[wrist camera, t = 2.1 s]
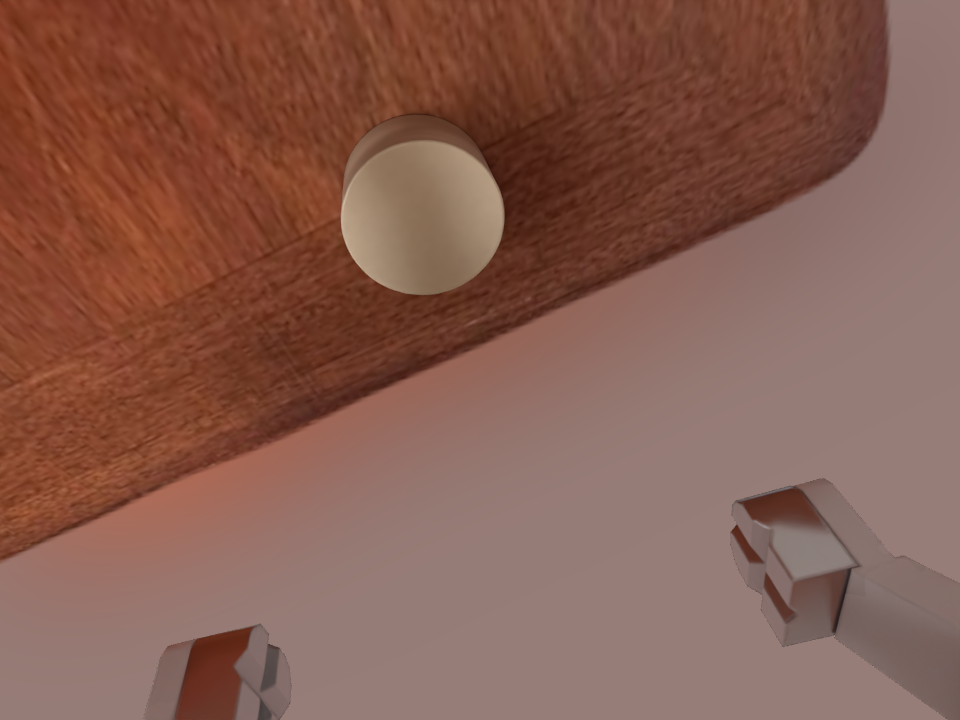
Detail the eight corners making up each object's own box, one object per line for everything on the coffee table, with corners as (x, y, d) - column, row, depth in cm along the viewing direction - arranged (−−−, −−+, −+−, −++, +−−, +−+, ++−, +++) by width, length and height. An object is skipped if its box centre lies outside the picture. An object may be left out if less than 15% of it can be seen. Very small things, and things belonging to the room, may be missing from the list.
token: (469, 94, 20) (483, 117, 18) (504, 233, 23) (520, 270, 21) (320, 139, 20) (313, 169, 18) (373, 272, 23) (374, 314, 21)
